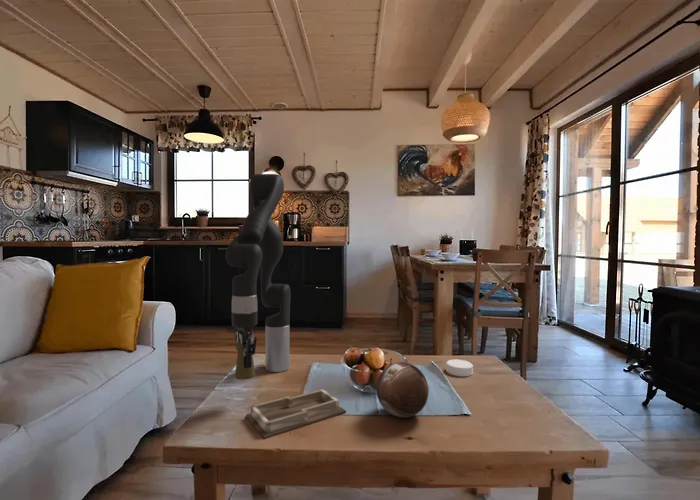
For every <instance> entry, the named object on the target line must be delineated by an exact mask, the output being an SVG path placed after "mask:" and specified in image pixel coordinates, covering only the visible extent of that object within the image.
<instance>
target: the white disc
mask: <svg viewBox="0 0 700 500" xmlns="http://www.w3.org/2000/svg"><path fill="white" fill-rule="evenodd" d="M445 368H446V369H445V370H446V372H447V373H448V374H449V375H452V376H455V377H470V376H472V375H473V373H474V365H473V364H472V363H471V362H470V361H468V360H464V359H449V360H447V361H446V363H445Z"/></svg>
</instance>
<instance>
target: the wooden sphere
mask: <svg viewBox="0 0 700 500" xmlns="http://www.w3.org/2000/svg"><path fill="white" fill-rule="evenodd" d="M429 395H430V394H429V384H428V380H427V378H426V376H425V374H424V373H423V372H422V370H420V369H419V368H418V367H417V366H416V365H413V364H411V363H409V362H406V361H405V362H404V361H400V362H398V361H397V362H394V363H391V364H389V365H387V366H386V367H385V368H384V369H383V370H382V371H381V372H380V374H379V376H378V378H377V381H376V396H377V399H378V402H379V403H380V405H381V406H382V408H383V409H384V410H385V411H386V412H387V413H388V414H390V415H392V416H395V417H398V418H411V417H413V416H416V415H417V414H418V413H420V412H421V411H422V410H423V409H424V407H425V405H427V403H428V399H429Z"/></svg>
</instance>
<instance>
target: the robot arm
mask: <svg viewBox="0 0 700 500" xmlns="http://www.w3.org/2000/svg"><path fill="white" fill-rule="evenodd" d="M249 185H250V186H249V188H250V194H251V195H250V196H251V202H252V207H253V210H251V212H249V213H248V214H247V215H246V218H245V219H244V221H243V224H242V227H241V229H240V231H239V232H238V233H237V235H236V236H235V237H234V239H233V240H231V242H230V244H229V245H227V248H226V251H225V256H224V257H225V261H226V263H227V265H229V266H230V267H234V268H247V269H246V272H245V273H243V274H239V275H235V276H233V277H232V280H231V281H232V285H231V286H232V287H231V288H232V291H231V293H232V294H231V295H232V296H231V325H232V327H233V328H234V329H233V332H234V340H235V341H234V342H235V345H236V344H237V342H238V341H240V340H241V347H242V348H243V349H244V350H243V355H244V368H250V367H251V366H252V355H253V356H255V354H256V349H257V348H256V346H257V339H258V338H257V336H254V331H253V327H255V326H257V325H258V321H259V320H258V308H259V307H258V297H257V296H258V295H257V292H258V291H257V289H258V288H257V281H258V276H259V272H260V298H261V303H262V305H263V307H265V308H275V309H279V311H278V312H277V313H275V314H272V315H269V316H267V317H266V318H265V322H264V323H265V324H264V325H265V361H264V363H265V369H264V370H265V371H267V372H270V373H281V372H285V371H287V370H289V369H290V319H291V316H290V315H291V296H292V295H291V287H290V285H289V284H286V283H272V275H273V273H274V270H275V268H276V266H277V265H278V263H279V261H280V260H281V258H282V255H283V253H284V241H283V234H282V231H281V230H280V228H279V227H278V226H277V224H276V222H275V221H274V220H273V219H272V218H271V217H272V215H273V213H274V212H275V211H276V209H277V207H278V205H279V203H280V201H281V199H282V198H283V195H284V192H285V183H284V180H283V177H282V176H281V175H280V174H277V173H276V174H275V173H256V174H252V176H251V178H250V182H249ZM244 344H246V345H244ZM249 349H250V351H249Z"/></svg>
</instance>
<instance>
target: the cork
mask: <svg viewBox="0 0 700 500" xmlns="http://www.w3.org/2000/svg"><path fill="white" fill-rule="evenodd" d="M244 345H246V344H244ZM235 348H236V351H237V357H236V365H235V373H234V379H237V380H249V379H253V378H255V376H256V370H255V364H254V363H255V362H254V355H252V366H251V367H250V368H244V355H243V350H244V349H243V348H242V347H241V340H240V341H238V342H237V344H236V343H235ZM249 351H250V349H249Z"/></svg>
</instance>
